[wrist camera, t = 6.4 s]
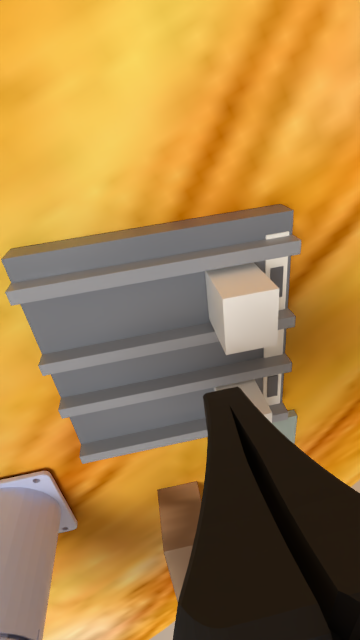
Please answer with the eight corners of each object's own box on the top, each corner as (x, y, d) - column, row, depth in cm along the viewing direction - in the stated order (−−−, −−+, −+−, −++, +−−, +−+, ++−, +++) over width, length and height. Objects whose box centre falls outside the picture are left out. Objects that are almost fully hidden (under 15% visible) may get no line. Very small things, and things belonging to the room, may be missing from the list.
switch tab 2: (216, 413, 22) (230, 456, 19) (212, 380, 21) (228, 422, 18) (251, 406, 22) (270, 447, 19) (251, 373, 21) (272, 412, 18)
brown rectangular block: (171, 544, 34) (178, 604, 29) (157, 488, 28) (163, 551, 24) (204, 536, 34) (216, 595, 30) (196, 479, 29) (209, 541, 24)
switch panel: (90, 444, 24) (87, 474, 22) (10, 248, 16) (-7, 267, 14) (272, 405, 25) (286, 431, 23) (280, 204, 17) (303, 214, 15)
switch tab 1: (209, 318, 18) (225, 355, 15) (204, 269, 17) (222, 299, 14) (252, 310, 18) (276, 344, 15) (252, 260, 17) (279, 288, 14)
